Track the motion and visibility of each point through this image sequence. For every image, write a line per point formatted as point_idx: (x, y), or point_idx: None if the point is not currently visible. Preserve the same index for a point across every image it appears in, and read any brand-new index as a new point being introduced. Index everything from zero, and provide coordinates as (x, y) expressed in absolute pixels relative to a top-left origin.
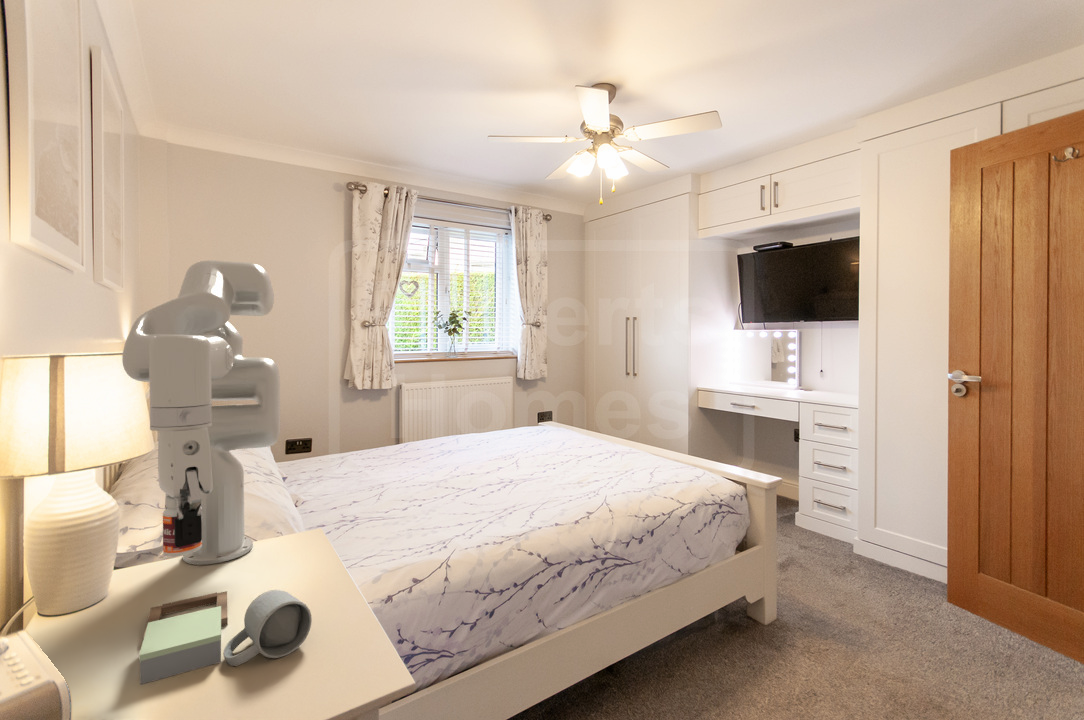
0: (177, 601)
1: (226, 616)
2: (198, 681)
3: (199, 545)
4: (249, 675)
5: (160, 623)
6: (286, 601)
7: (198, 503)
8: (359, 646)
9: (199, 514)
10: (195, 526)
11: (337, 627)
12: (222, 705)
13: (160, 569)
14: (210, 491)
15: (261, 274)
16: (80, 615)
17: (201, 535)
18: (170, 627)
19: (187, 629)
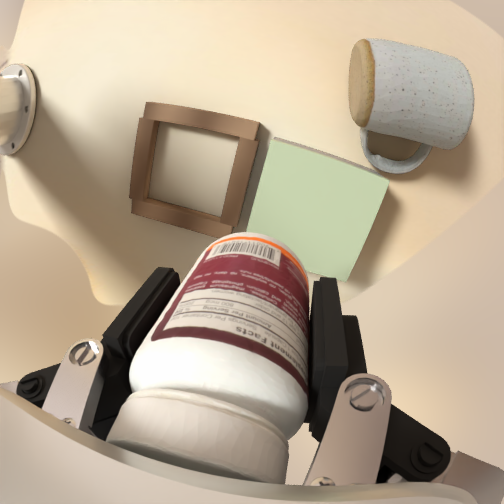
0: (132, 177)
1: (252, 123)
2: (395, 208)
3: (291, 255)
4: (435, 159)
5: None
6: (471, 96)
7: (480, 465)
8: (473, 39)
9: (383, 389)
10: (363, 352)
11: (410, 16)
12: (459, 207)
13: (21, 180)
14: (468, 492)
15: None
16: (95, 270)
17: (337, 289)
18: (290, 231)
19: (324, 213)
